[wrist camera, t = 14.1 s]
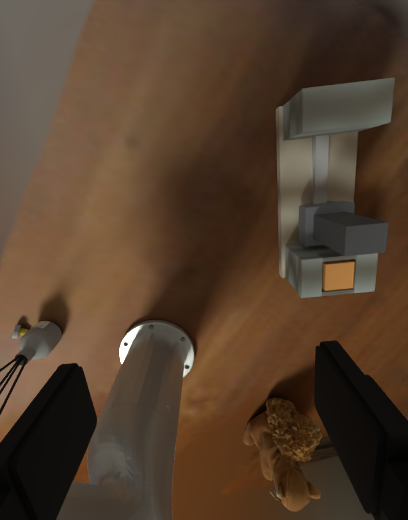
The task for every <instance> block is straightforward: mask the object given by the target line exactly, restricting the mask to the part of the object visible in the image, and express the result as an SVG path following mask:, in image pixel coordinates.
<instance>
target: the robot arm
mask: <svg viewBox="0 0 408 520" xmlns="http://www.w3.org/2000/svg"><path fill="white" fill-rule="evenodd" d="M194 354H195V352H194V346H193V343H192V340H191V339H190V337H189V335H188V334H187V333H186V332H185V331H184V330H183V329H182V328H180V327H179V326H177V325H175V324H173V323H171V322H167V321H163V320H148V321H144V322H141V323H139V324H136V325H135V326H133V327H132V328H131V329H130V330H129V331H128V332H127V333H126V334H125V336H124V338H123V340H122V342H121V345H120V349H119V356H120V360H121V363H122V365H121V368H120V370H119V372H118V374H117V377H116V379H115V381H114V383H113V386H112V388H111V390H110V392H109V395H108V397H107V399H106V402H105V404H104V406H103V408H102V411H101V413H100V415H99V417H98V420H97V416H96V413H95V409H94V406H93V402H92V399H91V396H90V392H89V389H88V385H87V382H86V378H85V375H84V372H83V369H82V367H79V366H78V364H77V363H72V364H62V365H60V366H59V367H58V368H57V370H56V371H55V372H54V373H53V375H52V376H51V377H50V379H49V380H48V381H47V383H46V384H45V385H44V386H43V388H42V389H41V390H40V392H39V393H38V394H37V396H36V397H35V398H34V400H33V401H32V402H31V403H30V405H29V406H28V407H27V409H26V410H25V411H24V413H23V414H22V415H21V417H20V418H19V419H18V420H17V422H16V423H15V424H14V426H13V427H12V428H11V430H10V431H9V432H8V434H7V435H6V436H5V437H4V439H3V440H2V441H1V443H0V520H172V480H173V466H174V455H175V446H176V437H177V428H178V419H179V410H180V400H181V391H182V382H183V378H184V377H185V376H186V375H187V374H188V372H189V371H190V370H191V368H192V365H193V362H194ZM314 402H315V407H316V410H317V412H318V414H319V416H320V418H321V420H322V423H323V425H324V427H325V429H326V431H327V433H328V435H329V437H330V439H331V441H332V443H333V446H334V448H335V450H336V452H337V454H338V456H339V458H340V460H341V462H342V464H343V467H344V469H345V471H346V473H347V475H348V477H349V479H350V481H351V483H352V485H353V487H354V490H355V492H356V494H357V496H358V498H359V500H360V502H361V504H362V506H363V508H364V510H365V511H366V513H372V515H373V517H374V519H375V520H408V421H407V419H406V418H405V417H404V416H403V415H402V413H401V412H400V411H399V410H398V409H397V407H396V406H395V405H394V404H393V403H392V401H391V400H390V399H389V398H388V397H387V395H386V394H385V393H384V392H383V390H382V389H381V388H380V387H379V386H378V384H377V383H376V382H375V381H374V380H373V379H372V378H371V377H370V376H369V375H364V374H363V372H362V371H361V370H360V369H359V367H358V366H357V365H356V364H355V362H354V361H353V360H352V359H351V357H350V356H349V355H348V354H347V352H346V351H345V350H344V349H343V347H342V346H341V345H340V344H339V342H337V341H324V342H321V343H320V346H316V353H315V393H314ZM87 447H88V451H87V465H88V474H89V479H90V483H86V482H85V483H82V482H78V481H74V477H75V475H76V473H77V470H78V468H79V466H80V463H81V461H82V459H83V456H84V454H85V452H86V449H87Z"/></svg>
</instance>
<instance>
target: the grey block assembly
mask: <svg viewBox="0 0 408 520" xmlns="http://www.w3.org/2000/svg"><path fill="white" fill-rule="evenodd" d="M394 81H395V78H386V79H378V80H369V81H361V82H353V83H344V84H336V85H327V86H319V87H311V88H303V89H301V90H300V91H299V92H298V93H297V94H296V95H295V96H294V97H293V98H291V99H290V100H289V101H288V102H287V103H286V104H285V105H284V106H279V107H278V108H277V109H276V140H277V188H278V236H279V275H280V276H281V277H282V278H286V279H287V280H288V282H289V283H290V284H291V285H292V287H293V288H294V289H295V291H296V292H297V293H298V294H299V296H300V297H301V298H307V297H318V296H328V295H339V294H350V293H361V292H371V291H374V290H375V280H376V270H377V259H378V253H375V254H364V255H354V256H343V255H341V254H339V253H338V252H336V251H334V250H332V249H331V248H329V247H327V246H325V245H318V246H308V247H305V246H304V245H302V244H301V243H299V206H301V205H304V204H308V203H311V204H320V203H327V201H335V202H339V201H348V202H354V190H355V174H356V158H357V142H358V132H359V131H362V130H366V129H369V128H373V127H376V126H380V125H383V124H387V123H390V122H391V113H392V102H393V92H394ZM349 259H350V260H352V261H354V262H355V265H354V279H353V288H349V289H338V290H327V291H325V290H324V289H323V288H322V266H323V262H328V261H339V260H349Z"/></svg>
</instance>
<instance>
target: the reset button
mask: <svg viewBox="0 0 408 520" xmlns="http://www.w3.org/2000/svg"><path fill="white" fill-rule="evenodd" d="M354 265H355V262H354V261H352V260H350V259H349V260H339V261H328V262H323V266H322V288H323V289H324V290H325V291H327V290H338V289H349V288H353V279H354Z"/></svg>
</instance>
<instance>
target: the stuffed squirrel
mask: <svg viewBox="0 0 408 520" xmlns="http://www.w3.org/2000/svg"><path fill="white" fill-rule="evenodd" d="M266 406H267V409H266V410H265V411H264V412H263V413H261V414H259V415H258V416H256V417H255V418H253V419H252V420H250V421H249V422H248V424H247V426H246V429H245V431H244V435H243V442H244V443H245V444H247V445H252V444H256V445H257V447H258V448H259V450H260V459H261V468H262V472H263V474H264V476H265V478H266V479H267V480H273V479H274V483H275V487H276V490H277V491H276V492H275V490H274V489H273V491H274V493H275V494H276V496H277V498H276V497H275V496H274V495H273V494H272V492H271V491H270V493H271V494H272V495H273V497H275V498H276V499H277V500H278V501H280V502H282V503H283V505H284V506H285V507H286V508H287V509H289V510H290V511H299V510H300V509H302V508H303V507H304V506H305V505H306V504H307V503H308V502H309V500H310V497H312V498H315V499H319V498H320V491H319V490H318V489H317V488H316V487H315V486H313V485H312V484H311V483H309V482H308V481H307V480H306V478H305V477H304V475H303V472H302V470H301V469H300V466H299V461H304V462H305V461H307V460H308V461H310V459H311V457H310V455H312V453H311V452H312V451H314V450H315V447H316V446H317V445H318V444H319V443H320V442H319V441H320V439H321V438H322V436H323V435H321V434H322V433H320V431H319V430H321V429H320V428H319V426H317V425H315V423H314V421H312V419H311V418H310V417H309V416H306V415H300V414H299V413H298V412H297V410H296V407H295V406H294V404H293V403H292V402H291V401H290V400H283V399H282V398H275V397H274V398H271V399H269V400H268V401H267V403H266Z"/></svg>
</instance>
